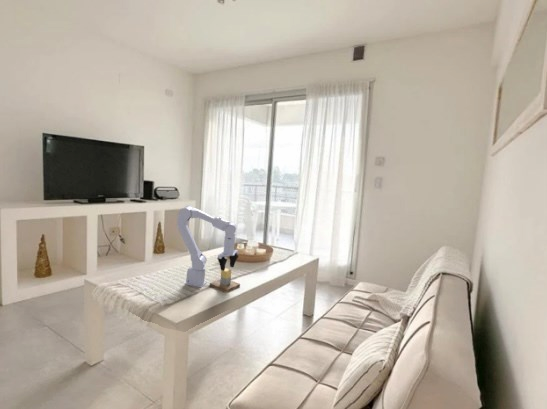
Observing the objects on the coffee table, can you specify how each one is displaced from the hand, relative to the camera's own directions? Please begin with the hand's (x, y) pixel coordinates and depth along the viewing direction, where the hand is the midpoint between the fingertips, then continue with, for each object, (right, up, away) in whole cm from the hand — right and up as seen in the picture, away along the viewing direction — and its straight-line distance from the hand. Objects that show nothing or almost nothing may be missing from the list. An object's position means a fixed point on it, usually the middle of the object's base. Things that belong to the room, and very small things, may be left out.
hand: (227, 268), depth 169 cm
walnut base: (-2, -10, +1) cm, 10 cm away
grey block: (-1, -9, +1) cm, 9 cm away
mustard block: (-1, -5, +1) cm, 5 cm away
